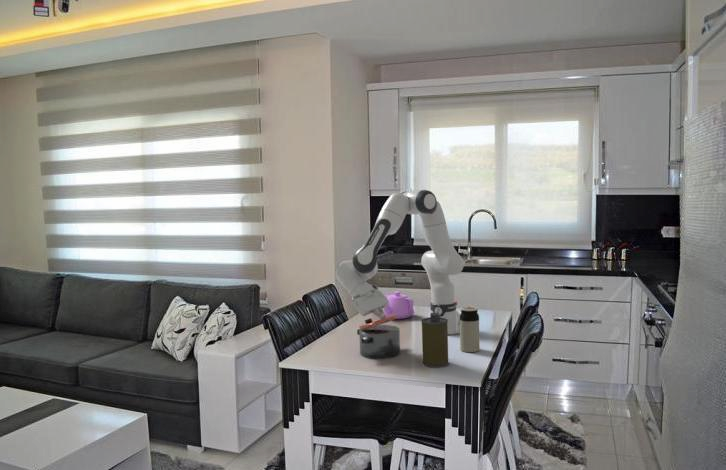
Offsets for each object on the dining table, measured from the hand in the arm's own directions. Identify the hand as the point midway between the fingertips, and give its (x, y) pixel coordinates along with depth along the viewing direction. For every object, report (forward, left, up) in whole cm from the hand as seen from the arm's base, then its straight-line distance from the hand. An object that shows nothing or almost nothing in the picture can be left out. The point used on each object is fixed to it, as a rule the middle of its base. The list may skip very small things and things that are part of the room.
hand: (383, 317), depth 233 cm
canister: (+4, +25, -15) cm, 29 cm away
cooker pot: (0, -2, -15) cm, 15 cm away
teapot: (-62, -26, -15) cm, 69 cm away
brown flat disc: (0, -3, -3) cm, 4 cm away
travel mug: (-19, +31, -15) cm, 39 cm away
